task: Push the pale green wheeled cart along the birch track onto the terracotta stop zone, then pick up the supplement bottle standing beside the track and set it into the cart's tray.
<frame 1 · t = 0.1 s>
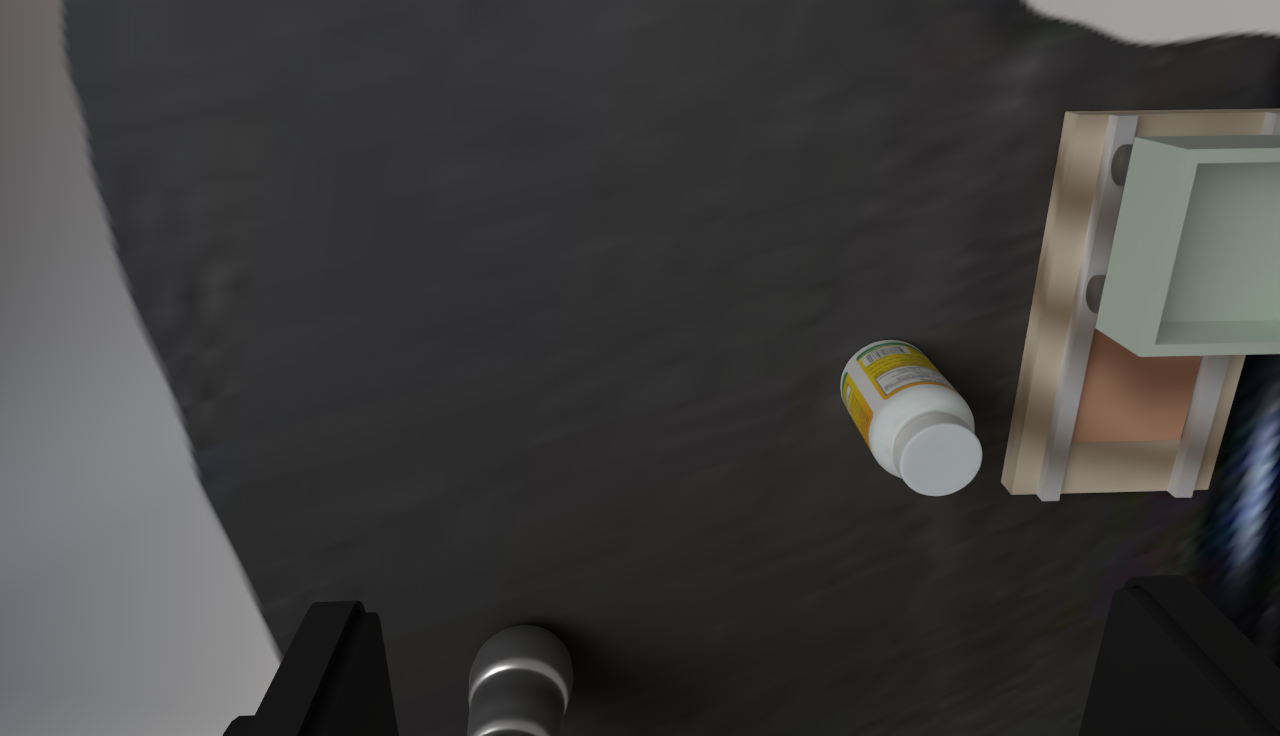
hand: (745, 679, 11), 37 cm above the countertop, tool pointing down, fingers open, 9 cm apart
plastic bottle: (525, 649, 57), on the countertop
track: (1134, 310, 49), on the countertop
supplement bottle: (882, 379, 50), on the countertop
cart: (1222, 239, 41), point 5 cm above the countertop, slide at 0.0 cm
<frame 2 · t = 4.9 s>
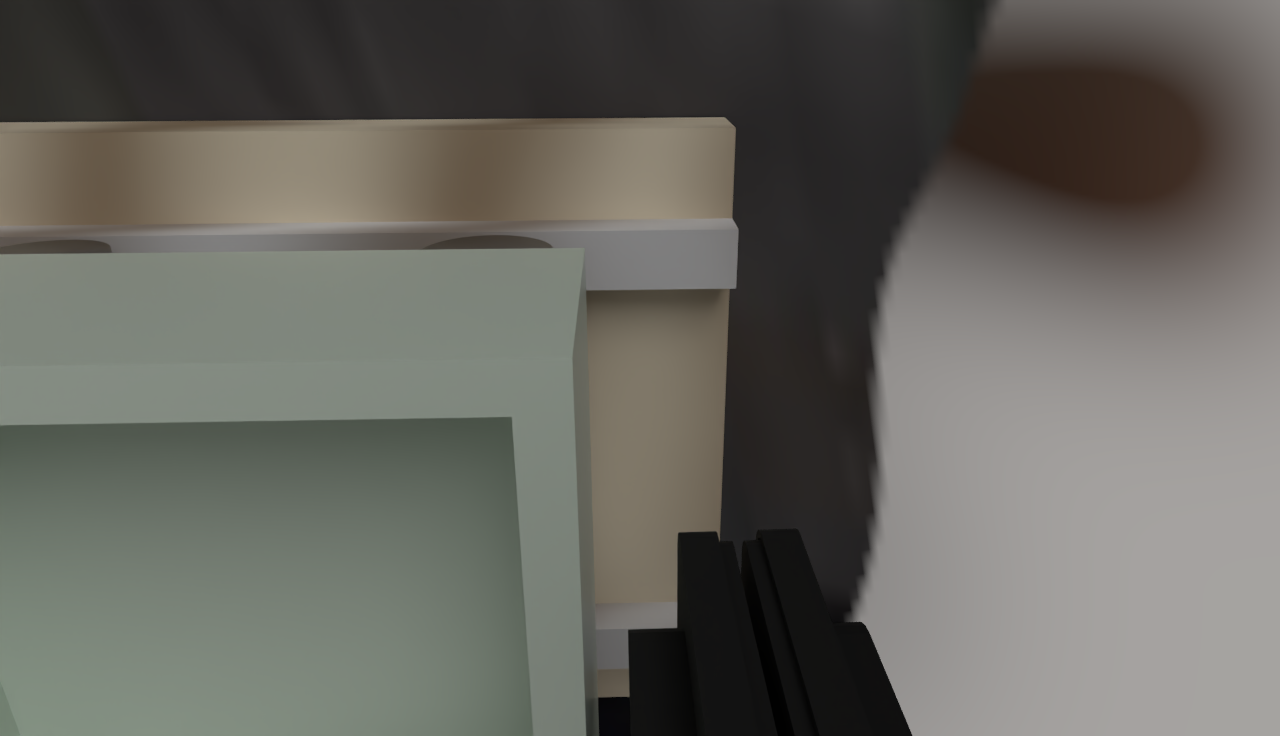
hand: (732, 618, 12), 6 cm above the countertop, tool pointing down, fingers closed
track: (176, 425, 17), on the countertop
cart: (262, 590, 12), point 5 cm above the countertop, slide at 1.7 cm, touching gripper
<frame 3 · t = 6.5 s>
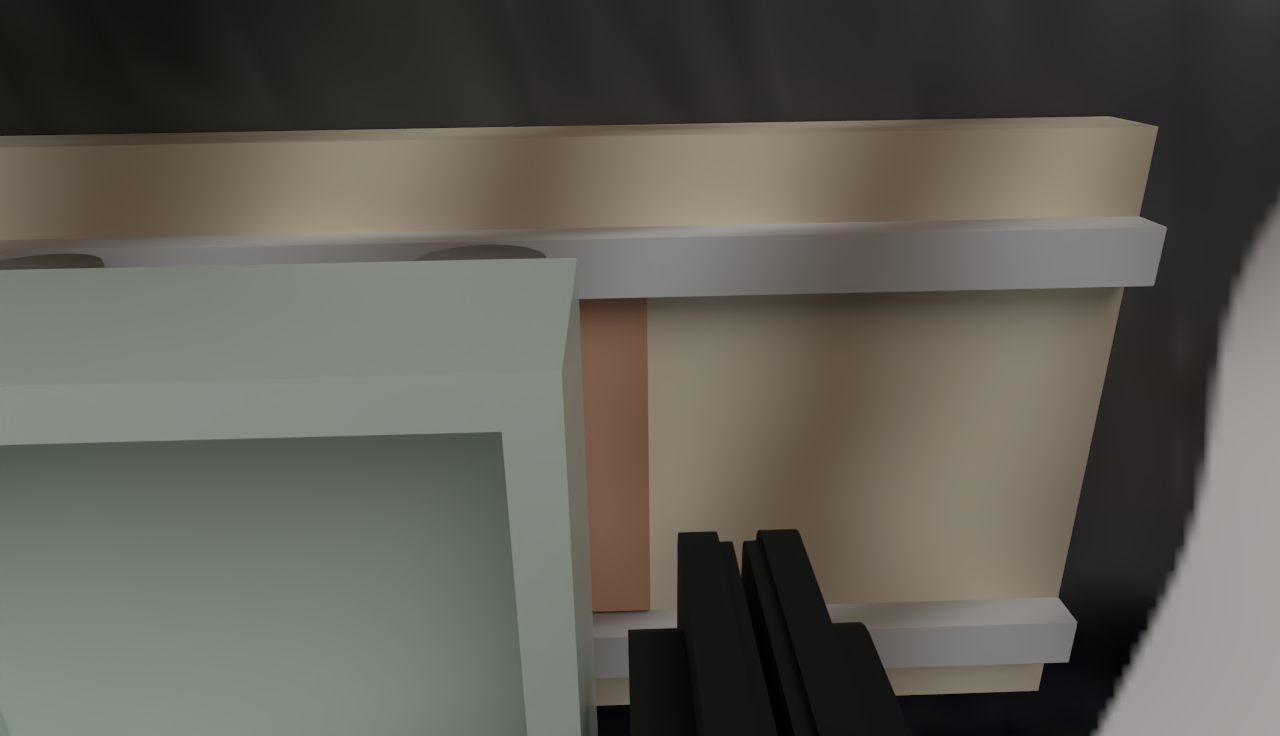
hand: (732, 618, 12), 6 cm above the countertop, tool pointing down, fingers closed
track: (524, 428, 18), on the countertop
cart: (257, 604, 12), point 5 cm above the countertop, slide at 8.8 cm, touching gripper
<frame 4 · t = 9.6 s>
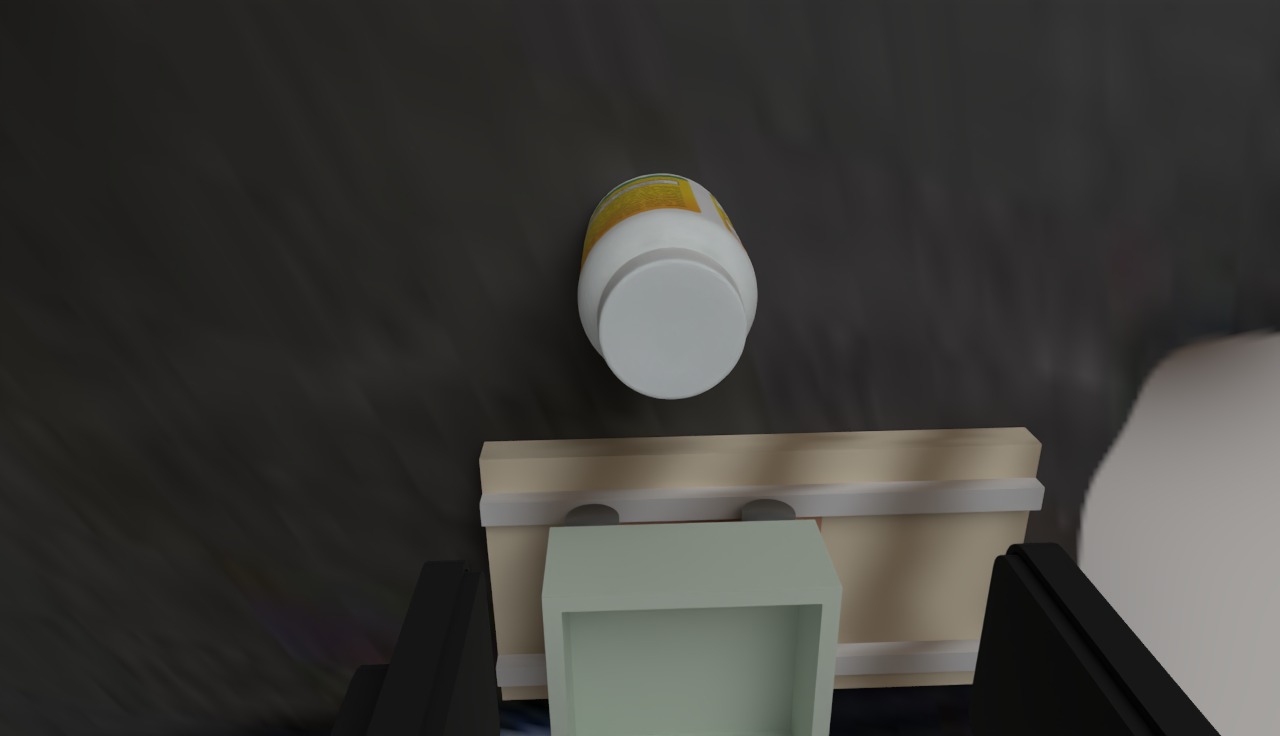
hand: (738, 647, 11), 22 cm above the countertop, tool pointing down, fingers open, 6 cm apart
track: (751, 558, 37), on the countertop
supplement bottle: (656, 241, 32), on the countertop
cart: (684, 648, 32), point 6 cm above the countertop, slide at 8.8 cm
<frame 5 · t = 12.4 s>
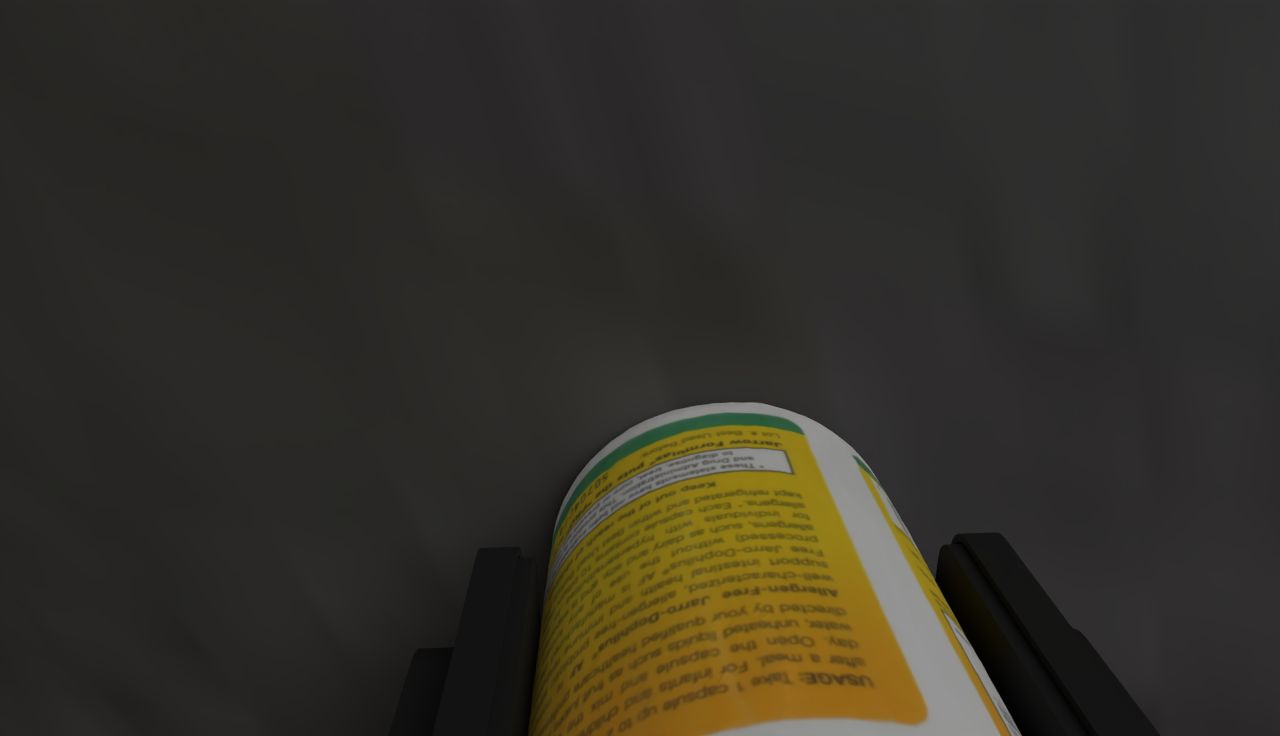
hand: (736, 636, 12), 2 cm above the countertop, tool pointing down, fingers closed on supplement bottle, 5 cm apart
supplement bottle: (715, 532, 14), on the countertop, touching gripper
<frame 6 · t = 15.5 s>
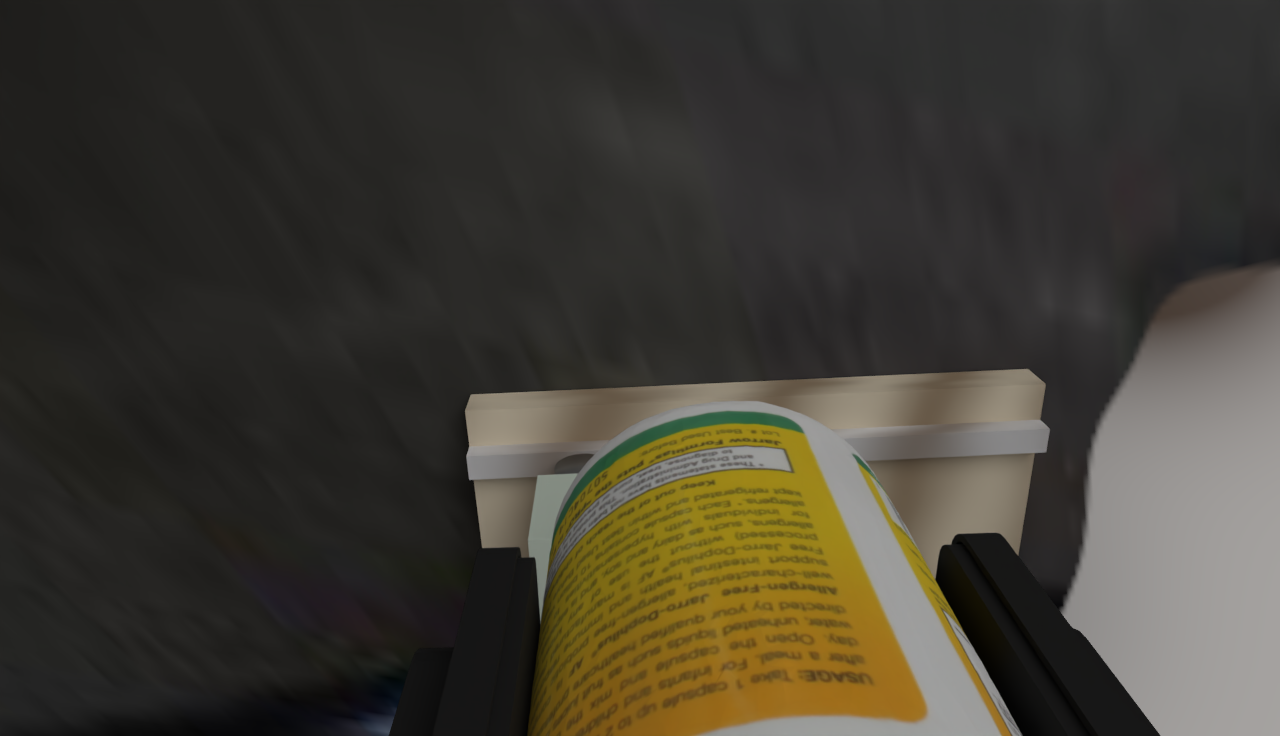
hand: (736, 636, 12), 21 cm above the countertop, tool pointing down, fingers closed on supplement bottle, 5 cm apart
track: (748, 512, 36), on the countertop
supplement bottle: (715, 531, 14), point 19 cm above the countertop, touching gripper
cart: (679, 599, 31), point 5 cm above the countertop, slide at 8.8 cm
when the fingers open (9 cm above the countertop, at t = 18.9 s): supplement bottle drops 1 cm, resting on cart.
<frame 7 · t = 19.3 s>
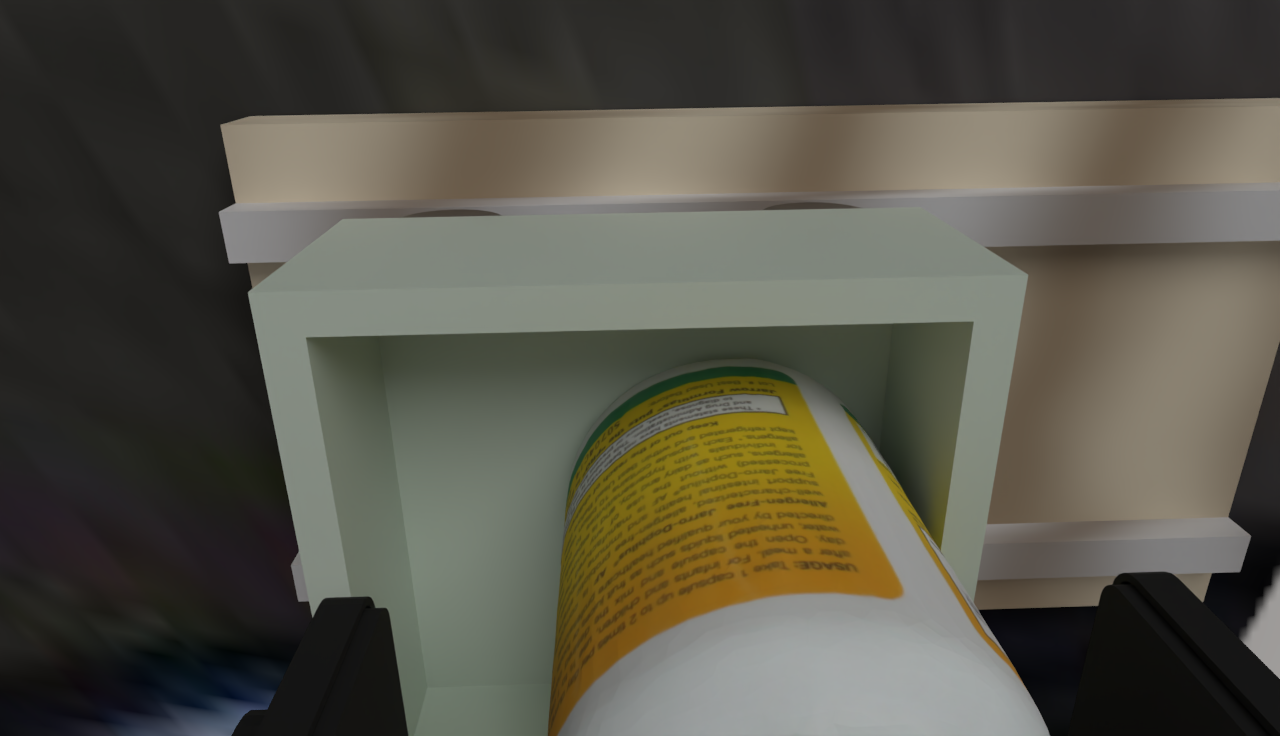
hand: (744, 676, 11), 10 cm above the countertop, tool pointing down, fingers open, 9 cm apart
track: (767, 370, 20), on the countertop
supplement bottle: (716, 482, 15), point 5 cm above the countertop, touching cart
cart: (639, 494, 15), point 6 cm above the countertop, slide at 8.7 cm, touching supplement bottle
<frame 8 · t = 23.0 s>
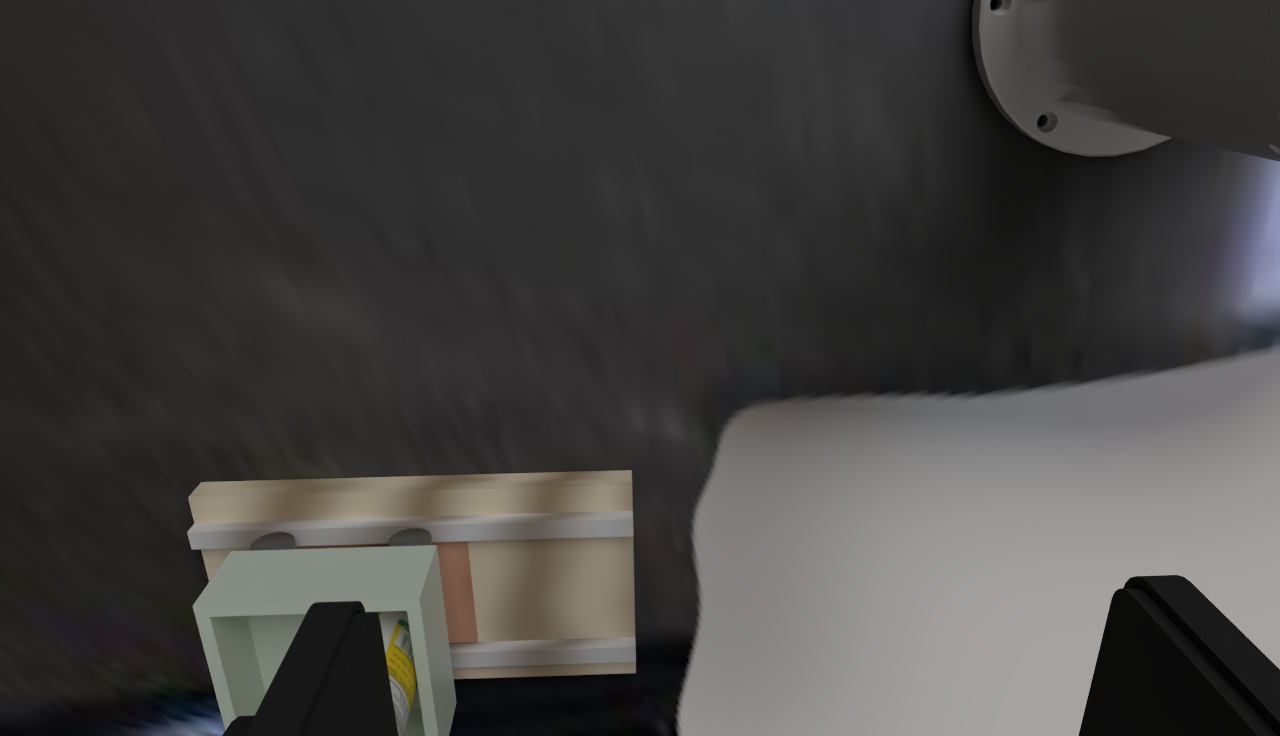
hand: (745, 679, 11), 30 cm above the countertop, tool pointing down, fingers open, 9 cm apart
track: (430, 573, 46), on the countertop
supplement bottle: (372, 638, 41), point 5 cm above the countertop, touching cart
cart: (343, 644, 41), point 6 cm above the countertop, slide at 8.6 cm, touching supplement bottle
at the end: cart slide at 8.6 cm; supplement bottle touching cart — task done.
